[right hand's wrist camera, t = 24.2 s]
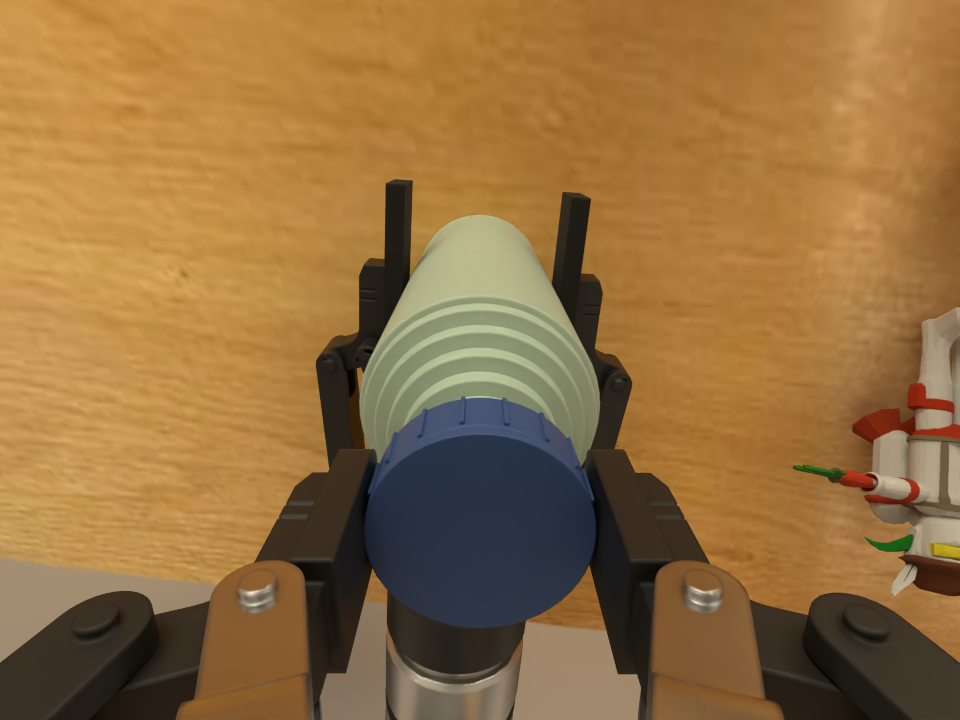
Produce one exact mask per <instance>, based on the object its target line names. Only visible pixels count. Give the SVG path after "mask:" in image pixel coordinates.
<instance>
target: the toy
mask: <svg viewBox="0 0 960 720" xmlns="http://www.w3.org/2000/svg"><path fill="white" fill-rule="evenodd" d="M921 331H922V356H921V366H920V376H919V379H918V382H917V383H915V384H913V385H910V386H909V390H908V405H907V406H908V408H910V409H912V410H914V411H915V417H913V418H911V419H909V420H908V421H906V422H904V423H902V424H901V425H900V414H899V409H886V410H880V411H877V412H875V413H872V414H870V415H867V416H865V417H863V418H862V419H861V420H859V421H858V422H856V423H855V424H854V425H853V430H852V432H854V433H855V434H857V435H859V436H860V437H862V438H864V439H865V440H867V441H868V442H870V443H872V444H873V460H872V472H868V473H865V474H860V473H858V472H855V471H851V470H840V469H839V468H833V469H831V470H827V469H822V468H818V467H813V466H809V465H803V467H802V466H793V468H794V469H795V470H799V471H803V472H808V473H813V474H817V475H821V476H825V477H828V479H829V481H831V482H832V483H840V484H842V485H844V486H849V487H860V489H861V490H862V491H863V492H865V493H868V494H871V495H865V500H866V501H868V502H869V503H870V507H871V509H872V511H873V513H874V515H875V516H877V517H878V518H879V519H880V520H882V521H883V522H887V523H891V524H903V523H905V522H907V521H909V522H910V524H911V525H913V527H911V528H909V531H908V534H907V536H906V537H904V538H901V539H898V540H895V541H892V542H889V543H880V542H874V541H872V540H870V539H868V538H866V537H864V536H863V537H864V538H865V539H866V540H867V541H868V542H869V543H870V544H871V545H873V546H874V547H876V548H877V549H879V550H882V551H886V552H896V551H904V556H901V557H898V558H900V559H902V560H903V561H905V563H906V566H905V567H904V568H903V569H902V570H901V571H900V573H899V575H898V576H897V578H896V579H895V581H894V583H893V584H892V587H891V591H890V593H891V594H892V595H894V596H895V595H896V594H897V593H899V592H900V591H901V590H903V589H904V588H905V587H906V586H908V585H909V584H910V583H912V582H913V583H914V584H915V585H916V586H917V587H918V588H919V589H922V590H926V591H931V592H935V593H939V594H943V595H948V596H960V307H956V308H954V309H952V310H951V311H949V312H947V313H945V314H943V315H942V316H940V317H938V318H933V319H927V320H925V321H923V322H922V323H921ZM951 347H952V349H951ZM950 350H951V365H950V357H949V353H950Z"/></svg>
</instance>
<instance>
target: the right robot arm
mask: <svg viewBox="0 0 960 720" xmlns="http://www.w3.org/2000/svg"><path fill="white" fill-rule="evenodd" d="M376 465H377V454H376V451H375V449H339V450H338V452H337V454H336V456H335V458H334V460H333V463H332V465H331V467H330V469H329V471H328V473H311V474H310V475H309V476H308V477H306V478H305V479H304V480H303V481H301V482H300V483H299V484H297V485H296V486H295V488H294V489H293V491H292V493H291V495H290V497H289V499H288V501H287V502H286V503H287V504H286V506H284V508H283V510H282V512H281V514H280V515H279V519H277V521H276V523H275V525H274V527H273V528H272V530H271V532H270V534H269V536H268V538H267V540H266V541H265V543H264V545H263V547H262V549H261V551H260V553H259V555H258V556H257V558H256V560H255V562H254V563H252V564H249V565H246V566H244V567H241V568H239V569H237V570H235V571H234V572H232V573H230V574H229V575H228V576H226V577H225V578H224V579H223V580H222V581H221V582H220V583H219V584H218V585H217V586H216V588H215V589H214V591H213V593H212V595H211V599H210V601H208V602H205V603H202V604H199V605H195V606H191V607H187V608H183V609H178V610H174V611H169V612H165V613H161V614H156V615H154V612H153V608H152V604H151V602H150V600H149V599H148V598H147V597H146V596H144V595H143V594H140V593H137V592H132V591H118V592H111V593H106V594H102V595H99V596H96V597H93V598H91V599H88V600H86V601H84V602H82V603H80V604H77V605H76V606H74V607H72V608H71V609H69V610H68V611H66V612H65V613H63V614H62V615H61V616H59V617H58V618H57V619H55V620H54V621H53V622H52V623H50V624H49V625H48V626H47V627H45V628H44V629H43V630H42V631H40V632H39V633H38V634H36V635H35V636H34V637H33V638H31V639H30V640H29V641H27V642H26V643H25V644H24V645H22V646H21V647H20V648H19V649H17V650H16V651H15V652H13V653H12V654H11V655H10V656H8V657H7V658H6V659H4V660H3V661H2V662H1V663H0V720H322V712H321V702H320V695H321V692H322V688H323V685H324V681H325V678H326V674H327V673H346V671H347V667H348V663H349V659H350V655H351V651H352V647H353V643H354V639H355V635H356V631H357V627H358V623H359V619H360V615H361V611H362V607H363V603H364V599H365V595H366V591H367V587H368V584H369V580H370V576H371V572H372V566H371V564H370V561H369V558H368V556H367V553H366V548H365V538H364V517H365V512H366V508H367V505H368V501H369V498H370V497H368V496H367V493H368V490H369V487H370V483H371V480H372V477H373V474H374V471H375V468H376ZM585 472H586V475H587V478H588V481H589V484H590V487H591V490H592V493H593V496H594V500H595V503H593V507H594V511H595V516H596V524H597V536H596V545H595V549H594V552H593V556H592V559H591V561H590V564H589V565H590V568H591V572H592V576H593V580H594V584H595V588H596V592H597V595H598V599H599V603H600V607H601V611H602V615H603V619H604V622H605V626H606V630H607V634H608V638H609V642H610V646H611V649H612V653H613V657H614V661H615V664H616V669H617V672H618V674H637V675H638V679H639V682H640V685H641V694H640V702H639V711H638V720H960V663H959V662H958V661H957V660H956V659H954V658H953V657H952V656H950V655H949V654H948V653H947V652H945V651H944V650H943V649H942V648H940V647H939V646H938V645H936V644H935V643H934V642H933V641H931V640H930V639H929V638H927V637H926V636H925V635H924V634H922V633H921V632H920V631H919V630H917V629H916V628H915V627H913V626H912V625H911V624H910V623H908V622H907V621H906V620H905V619H903V618H902V617H901V616H899V615H898V614H896V613H895V612H894V611H892V610H890V609H889V608H887V607H885V606H883V605H881V604H879V603H877V602H875V601H872V600H870V599H867V598H864V597H861V596H857V595H852V594H847V593H828V594H824V595H821V596H819V597H817V598H816V599H814V601H813V602H812V603H811V606H810V609H809V613H808V615H804V614H800V613H796V612H791V611H787V610H783V609H778V608H774V607H770V606H766V605H763V604H760V603H757V602H754V601H752V600H750V599H749V595H748V593H747V591H746V589H745V588H744V586H743V585H742V584H741V583H740V582H739V581H738V580H737V579H736V578H735V577H734V576H732V575H731V574H730V573H728V572H726V571H725V570H723V569H721V568H719V567H716V566H714V565H711V564H710V563H709V561H708V559H707V557H706V555H705V554H704V552H703V550H702V548H701V546H700V544H699V543H698V541H697V539H696V537H695V535H694V533H693V532H692V530H691V528H690V526H689V524H688V522H687V521H686V520H684V515H683V513H682V511H681V510H680V508H679V506H677V502H676V500H675V499H674V497H673V495H672V493H671V491H670V489H669V488H668V486H666V485H665V484H664V483H663V482H661V481H660V480H659V479H657V478H656V477H655V476H654V475H652V474H651V473H635V471H634V469H633V467H632V465H631V463H630V461H629V459H628V456H627V454H626V452H625V451H624V450H623V449H589V450H588V451H587V454H586V461H585Z"/></svg>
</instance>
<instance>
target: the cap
mask: <svg viewBox="0 0 960 720" xmlns="http://www.w3.org/2000/svg"><path fill="white" fill-rule="evenodd" d="M367 496H368V497H370V498H369V501H368V505H367V508H366V512H365V517H364V538H365V548H366V553H367V556H368V558H369V561H370V564H371V566H372V568H373V570H374V572H375V573H376V575H377V577H378V578H379V580H380V581H381V582H382V584H383V585H384V586H385V588H386V589H387V590H388V591H389V592H390V593H391V594H392V595H393V596H394V597H395V598H397V599H398V600H399V601H400V602H402V603H403V604H404V605H406V606H407V607H409V608H410V609H412V610H414V611H415V612H417V613H419V614H421V615H423V616H425V617H427V618H430V619H433V620H436V621H439V622H441V623H445V624H450V625H454V626H461V627H469V628H490V627H500V626H505V625H511V624H515V623H518V622H521V621H525V620H527V619H530V618H532V617H535V616H537V615H539V614H541V613H543V612H545V611H546V610H548V609H550V608H551V607H553V606H554V605H556V604H557V603H558V602H560V601H561V600H562V599H563V598H565V597H566V596H567V595H568V594H569V593H570V592H571V591H572V590H573V589H574V587H575V586H576V585H577V584H578V583H579V581H580V580H581V578H582V577H583V575H584V574H585V572H586V570H587V568H588V566H589V564H590V561H591V559H592V556H593V552H594V549H595V545H596V536H597V524H596V516H595V511H594V507H593V503H595V500H594V496H593V493H592V490H591V487H590V484H589V481H588V478H587V475H586V472H585V469H582V468H581V465H580V462H579V460H578V457H577V454H576V452H575V450H574V446H573V443H572V440H571V438H570V437H568V438H566V437H565V435H564V434H563V433H562V432H561V431H560V430H559V429H558V428H557V427H556V426H555V425H554V424H553V423H552V422H550V421H549V420H548V419H546V418H545V416H544V413H542V412H540V413H537V412H535V411H533V410H532V409H529V408H527V407H525V406H522V405H520V404H517V403H513V402H510V401H507V398H504V397H503V398H502V400H501V399H494V398H465V396H462V397H461V399H459V400H455V401H450V402H446V403H443V404H441V405H438V406H435V407H433V408H431V409H429V410H427V409H426V408H425V409H423V410H422V413H421V414H420V415H418V416H417V417H415V418H414V419H412V420H411V421H410V422H408V423H407V424H406V425H405V426H404V427H403V428H402V429H401V430H400V431H399V432H398V433H397V432H394V433H393V435H392V439H391V442H390V444H389V445H388V447H387V448H386V450H385V453H384V455H383V457H382V459H381V462H380V463H377V465H376V468H375V471H374V474H373V477H372V480H371V483H370V487H369V490H368V493H367Z"/></svg>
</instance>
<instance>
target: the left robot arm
mask: <svg viewBox="0 0 960 720" xmlns="http://www.w3.org/2000/svg"><path fill="white" fill-rule="evenodd" d="M412 184H413V181H411V180H398V179H395V180H393V181H390V182H388V183H386V206H385V259H375V258H370V259H369V260H368V261H367V262H366V263H365V264H364V266H363V268H362V270H361V273H360V275H359V332H357V333H355V334H352V335H348V336H342V335H340V336H336V337H334V338H333V339H332V340H331V341H330V342H329V344H328V345H327V346H326V348H325V349H324V350H323V352H322V353H321V354H320V356H319V357H318V359H317V361H316V369H317V377H318V385H319V393H320V400H321V408H322V416H323V423H324V431H325V439H326V446H327V454H328V462H329V469H330V467H331V465H332V463H333V460H334V458H335V456H336V454H337V452H338V450H339V449H365V444H364V434H363V428H362V423H361V418H360V404H359V400H360V396H359V386H358V376H357V368H359V367H361V368H362V371H363V373H364V372H365V370H366V367H367V365H368V362H369V360H370V358H371V356H372V354H373V352H374V350H375V348H376V346H377V344H378V342H379V340H380V338H381V336H382V334H383V332H384V330H385V328H386V326H387V324H388V322H389V320H390V318H391V316H392V314H393V312H394V310H395V308H396V306H397V304H398V302H399V300H400V298H401V296H402V294H403V292H404V290H405V288H406V286H407V284H408V282H409V280H410V249H411V217H412ZM590 202H591V199H590V198H588V197H586V196H584V195H582V194H580V193H570V192H563V195H562V203H561V212H560V220H559V229H558V237H557V246H556V254H555V263H554V271H553V279H552V286H553V288H554V290H555V292H556V294H557V296H558V298H559V300H560V302H561V304H562V306H563V308H564V310H565V312H566V314H567V316H568V318H569V320H570V322H571V324H572V326H573V328H574V330H575V332H576V334H577V336H578V338H579V339H580V341H581V343H582V345H583V347H584V349H585V351H586V353H587V355H588V357H589V359H590V361H591V363H592V365H593V368H594V371H595V374H596V377H597V382H598V387H599V393H600V412H599V421H598V425H597V429H596V433H595V436H594V439H593V442H592V445H591V448H590V449H614V448H615V445H616V441H617V438H618V434H619V431H620V427H621V424H622V420H623V416H624V413H625V409H626V406H627V402H628V399H629V395H630V392H631V388H632V381H631V378H630V376H629V375H628V373H627V372H626V370H625V369H624V367H623V366H622V364H621V362H620V361H619V359H618V358H617V357H616V356H614V355H612V354H604V353H602V352H600V351H598V350H596V349H595V341H596V335H597V328H598V321H599V315H600V306H601V301H602V294H603V293H602V289H601V285H600V281H599V280H598V279H597V278H596V277H595V275H594V274H581V269H582V262H583V254H584V247H585V239H586V232H587V224H588V217H589V210H590ZM585 461H586V459H585ZM585 461H584V462H583V464H582V466H581V468H582V469H585ZM525 623H526V620H525V621H521V622H518V623H515V624H511V625H505V626H500V627H490V628H469V627H461V626H454V625H450V624H445V623H441V622H439V621H436V620H433V619H430V618H427V617H425V616H423V615H421V614H419V613H417V612H415V611H414V610H412V609H410V608H409V607H407V606H406V605H404V604H403V603H402V602H400V601H399V600H398V599H397V598H395V597H394V596H393V595H392V594H391V593H390V592H389V591H388V590H387V626H388V630H387V635H386V716H385V720H512V717H513V710H514V704H515V697H516V693H517V686H518V679H519V671H520V664H521V656H522V648H523V634H524V630H525Z"/></svg>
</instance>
